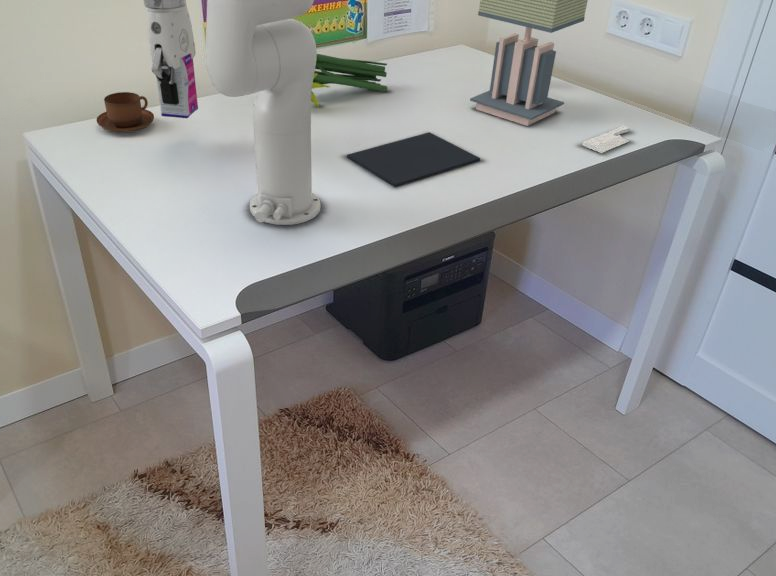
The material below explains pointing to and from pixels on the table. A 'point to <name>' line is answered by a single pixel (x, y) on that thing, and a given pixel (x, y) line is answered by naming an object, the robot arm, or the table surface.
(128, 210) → the table surface
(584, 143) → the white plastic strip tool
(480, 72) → the table surface
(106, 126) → the cup and saucer
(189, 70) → the supplement box
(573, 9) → the desk lamp
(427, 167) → the desk pad
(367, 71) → the daffodil flowers
